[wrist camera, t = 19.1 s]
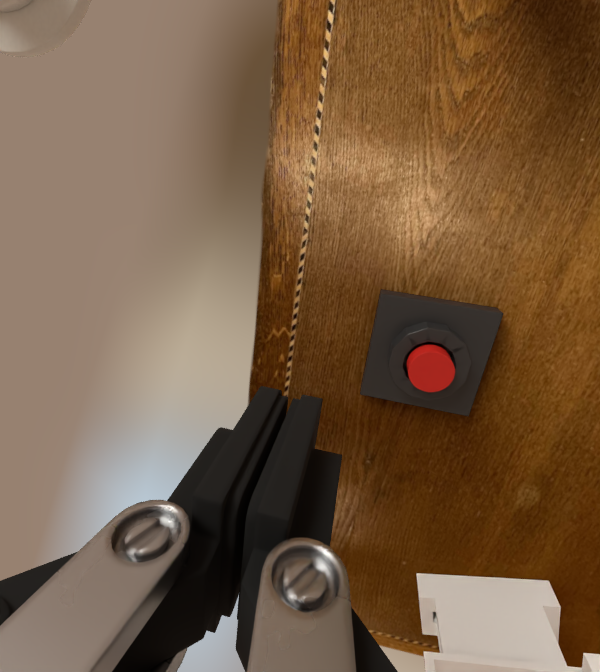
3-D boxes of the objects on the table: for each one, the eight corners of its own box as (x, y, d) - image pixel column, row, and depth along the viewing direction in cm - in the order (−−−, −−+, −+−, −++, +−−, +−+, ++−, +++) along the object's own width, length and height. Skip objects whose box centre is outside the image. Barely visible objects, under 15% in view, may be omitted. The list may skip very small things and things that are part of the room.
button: (402, 378, 32) (403, 387, 30) (411, 340, 31) (413, 348, 29) (444, 386, 32) (448, 396, 30) (456, 348, 30) (460, 356, 29)
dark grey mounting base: (360, 386, 37) (359, 404, 33) (380, 289, 33) (381, 298, 30) (464, 407, 35) (473, 427, 32) (497, 307, 32) (511, 319, 28)
